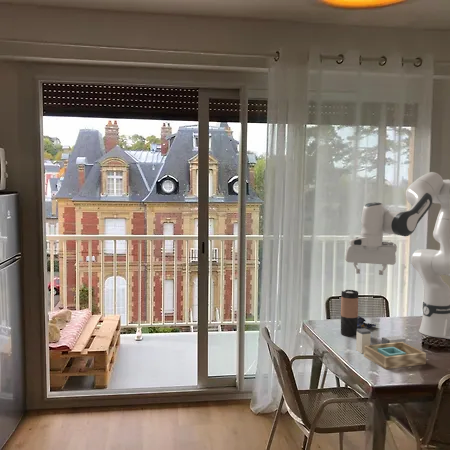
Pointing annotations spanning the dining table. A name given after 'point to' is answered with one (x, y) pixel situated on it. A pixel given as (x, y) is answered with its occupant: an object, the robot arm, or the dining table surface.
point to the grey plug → (393, 339)
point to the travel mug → (349, 312)
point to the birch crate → (389, 362)
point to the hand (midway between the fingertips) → (369, 274)
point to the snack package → (363, 323)
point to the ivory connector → (362, 339)
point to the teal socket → (390, 351)
